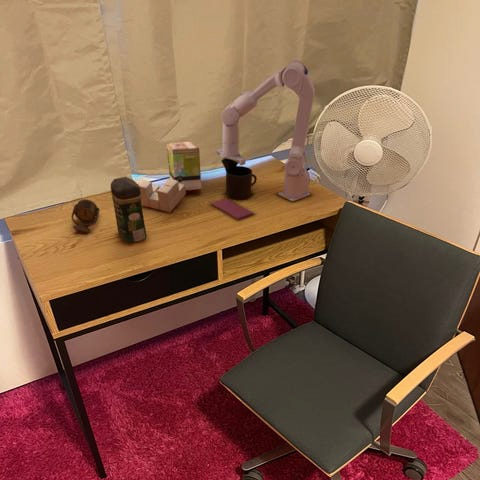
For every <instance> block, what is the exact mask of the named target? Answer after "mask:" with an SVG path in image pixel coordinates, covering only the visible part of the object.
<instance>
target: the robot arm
mask: <svg viewBox="0 0 480 480" xmlns="http://www.w3.org/2000/svg"><path fill="white" fill-rule="evenodd" d="M277 87H278V88H284V87H287V88H288V89H290V90H292V91H293V92H294V93H295V95H297V97H298V98H299V99H298V105H297V112H296V117H295V123H294V128H293V133H292V134H293V135H292V140H291V147H290V149H289V154H288V158H287V160H286V161H285V163H284V174H283V186H282V191H279V192H278V193H277V195H278V196H280V197H282V198H284V199H286V200H288V201H290V202H295V201H298V200H300V199H303V198H305V197H309V196H310V195H311V193H310V192H309V191H310V185H311V184H310V182H311V175H310V172H309V171H308V170H307V169H306V168H304V165H305V162H306V161H307V158H306V157H307V156H306V142H307V137H308V131H309V128H310V127H309V126H310V121H311V117H312V111H313V105H314V100H315V94H316V89H315V87H314V83H313V81H312V78H311V75H310V71H309V68H308V67H307V66H306V65H305V64H304V62H302V61H301V60H298V59H297V60H296V59H295V60H292V61H291V62H289V64H288V65H287V64H285V65H284V66H283V67H281V68H279V69H278V70H276V71H275V72H274V73H273V74H271V75H270V76H269V77H268V78H267V79H266V80H264V81H263V82H262V83H260V84H259V85H258V86H257V87H256V88H255V89H253V90H246V91H244V90H243V91H242V92H240V94H239V95H240V96H238V97H237V98H236V99H235V100H231V101H230V102H229V104H228V105H227V106H225V108H224V109H223V110H222V111H221V114H220V121H221V122H222V147H216V149H215V154H216V155H220V158H221V163H222V165H223V168H224V170H225V171H226V170H227V169H228V168H230V167H233V166H238V164H239V166H244V165H246V158H244V157H243V156H242V155H241V154H240V153H239V143H240V142H239V141H240V139H239V138H240V137H239V135H240V127H239V125H240V123H239V122H240V119H241V118H243V117H244V116H246V115H247V114H249V113H250V112H251V111H252V110H253V109H255V108H256V107H257V106H258V102H259V100H260V99H261V98H262V97H264V96H265V95H267V94H268V93H269V92H271V91H272V90H274V89H275V88H277Z"/></svg>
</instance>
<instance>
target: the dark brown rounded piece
mask: <svg viewBox="0 0 480 480" xmlns="http://www.w3.org/2000/svg"><path fill="white" fill-rule="evenodd" d="M100 211H101V210H100V208H99V207H98V206H97V204H96V203H95V201H92V200H91V199H87V198H84V199H80V200H78V202H77V203H75V204H74V207H73V210H72V213H71V220H72V222H73V224H74V225H73V227H72V229H73V230H74V231H76V232H77V233H80V234H86V233H90V231H91V227H93V226H95V225H96V224H97V222H98V219H99V216H100ZM74 216H75V217H76V219H77V220H78V221H80V222H82V223H79V222H77V220H75V219H74ZM85 223H87V224H85Z"/></svg>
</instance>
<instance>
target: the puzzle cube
mask: <svg viewBox="0 0 480 480" xmlns="http://www.w3.org/2000/svg"><path fill="white" fill-rule="evenodd" d="M137 184H138V185H139V187H140V191H141V203H142V207H148V208H151V209H154V210H160V211H163V212H167V213H172V211H173V210H174V208H175V207H177V205H178V204H179V203H180V202H181V200H182V199H183V198H184V197H185V196H186V194H187V192H186V191H187V190H185V185H183V184H179V183H178V181H176V180H172V179H170V178H167V179H166V180H165V182H164V183H163V184H161V186H159V185H157V184H153V183H152V181H149V180H145V179H142V180H140V181H139V182H138V183H137Z"/></svg>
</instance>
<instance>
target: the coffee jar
mask: <svg viewBox="0 0 480 480" xmlns="http://www.w3.org/2000/svg"><path fill="white" fill-rule="evenodd" d="M110 194H111V199H112V203H113V209H114V216H115V221H116V228H117V234H118V236H119V237H120V239H121V240H122V241H123V242H124V243H126V244H136V243H140V242H142V241H144V240H145V239H146V238H147V231H146V223H145V217H144V210H143V205H142V203H141V191H140V187H139V185H138V183H137V181H135V180H134V179H132V178H130V177H127V176H122V177H116V178H114V179H113V180H112V181H111V183H110Z"/></svg>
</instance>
